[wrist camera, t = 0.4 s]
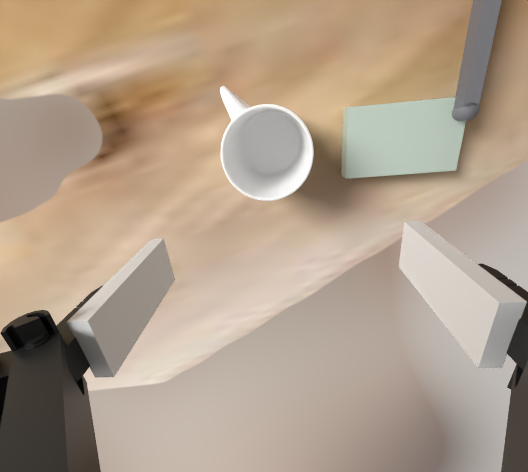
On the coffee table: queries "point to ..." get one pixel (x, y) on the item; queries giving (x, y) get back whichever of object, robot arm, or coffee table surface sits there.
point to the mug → (265, 149)
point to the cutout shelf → (421, 116)
